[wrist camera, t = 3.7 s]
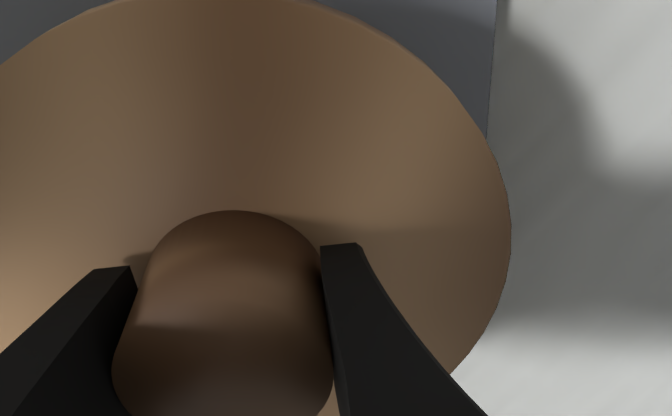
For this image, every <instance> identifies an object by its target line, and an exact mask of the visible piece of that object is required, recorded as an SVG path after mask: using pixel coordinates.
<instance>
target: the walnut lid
mask: <svg viewBox="0 0 672 416" xmlns="http://www.w3.org/2000/svg"><path fill="white" fill-rule="evenodd" d="M353 242H356V243H357V244H359V245H360V246H361V247H362V248H363V251H364V253H365V255H366V257H367V260H368V262H369V264H370V265H371V267H372V269H373V271H374V273H375V274H376V276H377V278H378V280H379V281H380V283H381V284H382V286H383V288H384V289H385V291H386V292H387V294H388V295H389V297H390V298H391V300H392V301H393V303H394V304H395V306H396V307H397V309H398V310H399V311H400V313H401V314H402V315H403V317H404V318H405V320H406V321H407V322H408V324H409V325H410V327H411V328H412V329H413V331H414V332H415V333H416V335H417V336H418V337H419V338H420V340H421V341H422V342H423V344H424V345H425V346H426V347H427V349H428V350H429V351H430V352H431V353H432V355H433V356H434V357H435V358H436V359H437V361H438V362H439V363H440V364H441V365H442V367H443V368H444V369H445V370H446V371H447V372H448V374H449V375H450V374H451V373H452V372H453V371H454V369H455V368H456V367H457V366H458V365H459V364H460V363H461V362H462V361H463V360H464V358H465V357H466V356H467V355H468V354H469V353H470V351H471V350H472V348H473V347H474V345H475V344H476V343H477V341H478V340H479V338H480V337H481V335H482V334H483V333H484V331H485V329H486V327H487V325H488V323H489V321H490V319H491V317H492V315H493V314H494V312H495V310H496V308H497V305H498V302H499V299H500V296H501V293H502V290H503V288H504V285H505V282H506V276H507V271H508V265H509V260H510V255H511V219H510V212H509V205H508V198H507V193H506V189H505V186H504V183H503V180H502V177H501V173H500V170H499V167H498V164H497V162H496V160H495V158H494V156H493V154H492V152H491V150H490V148H489V146H488V144H487V142H486V140H485V138H484V136H483V134H482V132H481V131H480V129H479V128H478V126H477V125H476V124H475V122H474V121H473V119H472V118H471V117H470V115H469V114H468V112H467V111H466V110H465V108H464V107H463V105H462V104H461V103H460V101H459V100H458V99H457V97H456V96H455V95H454V93H453V92H452V90H451V89H450V88H449V87H448V86H447V85H446V84H445V83H444V82H443V81H442V80H441V79H440V78H439V77H438V76H437V75H436V74H435V73H434V72H433V71H432V70H431V69H430V68H429V67H428V66H427V65H426V63H425V62H423V61H422V60H421V59H420V58H418V57H417V56H416V55H414V54H413V53H412V52H410V51H409V50H408V49H406V48H405V47H404V46H402V45H401V44H400V43H399V42H397V41H396V40H395V39H393V38H392V37H390V36H389V35H387V34H385V33H383V32H381V31H380V30H378V29H376V28H374V27H372V26H371V25H369V24H367V23H365V22H363V21H362V20H360V19H358V18H356V17H355V16H352V15H349V14H347V13H344V12H342V11H339V10H337V9H334V8H331V7H329V6H326V5H324V4H321V3H319V2H316V1H314V0H115V1H112V2H109V3H106V4H103V5H100V6H97V7H94V8H91V9H88V10H86V11H85V12H83V13H81V14H79V15H77V16H75V17H73V18H71V19H69V20H67V21H65V22H63V23H61V24H60V25H58V26H56V27H54V28H52V29H50V30H49V31H47V32H45V33H44V34H42V35H41V36H39V37H38V38H36V39H34V40H33V41H32V42H30V43H29V44H28V45H26V46H25V47H24V48H22V49H21V50H20V51H18V52H17V53H16V54H14V55H13V56H12V57H10V58H9V59H8V60H6V61H5V62H4V63H2V64H1V65H0V353H1V352H2V351H3V350H4V349H6V348H7V347H8V346H9V345H10V344H11V343H12V342H13V341H14V340H15V339H16V338H18V337H19V336H20V335H21V334H22V333H23V332H24V331H25V330H26V329H27V328H29V327H30V326H31V325H32V324H33V323H34V322H35V321H36V320H37V319H38V318H39V317H41V316H42V315H43V314H44V313H45V312H46V311H47V310H48V309H49V308H50V307H51V306H52V305H53V304H55V303H56V302H57V301H58V300H59V299H60V298H61V297H62V296H63V295H64V294H65V293H66V292H68V291H69V290H70V289H71V288H72V287H73V286H74V285H75V284H76V283H78V282H79V281H80V280H81V279H82V278H83V277H84V276H86V275H87V274H88V273H89V272H91V271H92V270H93V269H98V268H108V267H118V266H128V265H130V268H131V271H132V274H133V276H134V279H135V282H136V285H137V288H138V292H137V294H136V297H135V300H134V302H133V305H132V308H131V310H130V313H129V316H128V318H127V321H126V324H125V327H124V329H123V332H122V335H121V337H120V340H119V343H118V345H117V348H116V351H115V353H114V357H113V361H112V367H111V376H112V383H113V386H114V389H115V392H116V395H117V396H118V398H119V400H120V402H121V403H122V405H123V406H124V407H125V408H126V410H127V411H128V412H129V413H130V414H131V415H132V416H340V414H339V409H338V403H337V398H336V392H335V387H334V376H333V360H332V349H331V342H330V336H329V330H328V324H327V318H326V309H325V301H324V292H323V283H322V275H321V260H320V246H324V245H334V244H343V243H353Z"/></svg>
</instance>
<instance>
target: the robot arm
mask: <svg viewBox="0 0 672 416" xmlns="http://www.w3.org/2000/svg"><path fill="white" fill-rule="evenodd" d="M320 260H321V275H322V283H323V292H324V301H325V309H326V318H327V324H328V330H329V336H330V342H331V349H332V360H333V376H334V387H335V392H336V398H337V403H338V409H339V414H340V416H488V415H487V414H486V413H485V412H484V411H483V410H482V409H481V408H480V407H479V406H478V405H477V404H476V403H475V402H474V401H473V400H472V399H471V398H470V397H469V396H468V395H467V394H466V392H465V391H464V390H463V389H462V388H461V387H460V386H459V385H458V384H457V383H456V381H455V380H454V379H453V378H452V377H451V376H450V375H449V374H448V372H447V371H446V370H445V369H444V368H443V367H442V365H441V364H440V363H439V362H438V361H437V359H436V358H435V357H434V356H433V355H432V353H431V352H430V351H429V350H428V349H427V347H426V346H425V345H424V344H423V342H422V341H421V340H420V338H419V337H418V336H417V335H416V333H415V332H414V331H413V329H412V328H411V327H410V325H409V324H408V322H407V321H406V320H405V318H404V317H403V315H402V314H401V313H400V311H399V310H398V309H397V307H396V306H395V304H394V303H393V301H392V300H391V298H390V297H389V295H388V294H387V292H386V291H385V289H384V288H383V286H382V284H381V283H380V281H379V280H378V278H377V276H376V274H375V273H374V271H373V269H372V267H371V265H370V264H369V262H368V260H367V257H366V255H365V253H364V251H363V248H362V247H361V246H360V245H359V244H357V243H356V242H353V243H343V244H334V245H324V246H320ZM137 292H138V288H137V285H136V282H135V279H134V276H133V274H132V271H131V268H130V265H128V266H118V267H108V268H98V269H93V270H92V271H91V272H89V273H88V274H87V275H86V276H84V277H83V278H82V279H81V280H80V281H79V282H78V283H76V284H75V285H74V286H73V287H72V288H71V289H70V290H69V291H68V292H66V293H65V294H64V295H63V296H62V297H61V298H60V299H59V300H58V301H57V302H56V303H55V304H53V305H52V306H51V307H50V308H49V309H48V310H47V311H46V312H45V313H44V314H43V315H42V316H41V317H39V318H38V319H37V320H36V321H35V322H34V323H33V324H32V325H31V326H30V327H29V328H27V329H26V330H25V331H24V332H23V333H22V334H21V335H20V336H19V337H18V338H16V339H15V340H14V341H13V342H12V343H11V344H10V345H9V346H8V347H7V348H6V349H4V350H3V351H2V352H1V353H0V416H132V415H131V414H130V413H129V412H128V411H127V410H126V408H125V407H124V406H123V405H122V403H121V402H120V400H119V398H118V396H117V395H116V392H115V389H114V386H113V383H112V376H111V367H112V361H113V357H114V353H115V351H116V348H117V345H118V343H119V340H120V337H121V335H122V332H123V329H124V327H125V324H126V321H127V318H128V316H129V313H130V310H131V308H132V305H133V302H134V300H135V297H136V294H137Z"/></svg>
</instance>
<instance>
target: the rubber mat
mask: <svg viewBox="0 0 672 416" xmlns="http://www.w3.org/2000/svg"><path fill="white" fill-rule="evenodd" d="M112 1H115V0H0V65H1V64H2V63H4V62H5V61H6V60H8V59H9V58H10V57H12V56H13V55H14V54H16V53H17V52H18V51H20V50H21V49H22V48H24V47H25V46H26V45H28V44H29V43H30V42H32V41H33V40H34V39H36V38H38V37H39V36H41V35H42V34H44V33H45V32H47V31H49V30H50V29H52V28H54V27H56V26H58V25H60V24H61V23H63V22H65V21H67V20H69V19H71V18H73V17H75V16H77V15H79V14H81V13H83V12H85V11H86V10H88V9H91V8H94V7H97V6H100V5H103V4H106V3H109V2H112ZM314 1H316V2H319V3H321V4H324V5H326V6H329V7H331V8H334V9H337V10H339V11H342V12H344V13H347V14H349V15H352V16H355V17H356V18H358V19H360V20H362V21H363V22H365V23H367V24H369V25H371V26H372V27H374V28H376V29H378V30H380V31H381V32H383V33H385V34H387V35H389V36H390V37H392V38H393V39H395V40H396V41H397V42H399V43H400V44H401V45H402V46H404V47H405V48H406V49H408V50H409V51H410V52H412V53H413V54H414V55H416V56H417V57H418V58H420V59H421V60H422V61H423V62H425V63H426V65H427V66H428V67H429V68H430V69H431V70H432V71H433V72H434V73H435V74H436V75H437V76H438V77H439V78H440V79H441V80H442V81H443V82H444V83H445V84H446V85H447V86H448V87H449V88H450V89H451V90H452V92H453V93H454V95H455V96H456V97H457V99H458V100H459V101H460V103H461V104H462V105H463V107H464V108H465V110H466V111H467V112H468V114H469V115H470V117H471V118H472V119H473V121H474V122H475V124H476V125H477V126H478V128H479V129H480V131H481V132H482V134H483V136H484V138H485V140H486V134H487V122H488V109H489V97H490V84H491V71H492V59H493V46H494V33H495V21H496V8H497V0H314Z"/></svg>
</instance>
